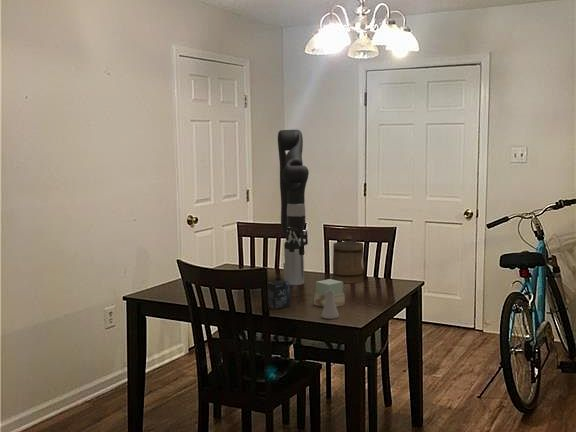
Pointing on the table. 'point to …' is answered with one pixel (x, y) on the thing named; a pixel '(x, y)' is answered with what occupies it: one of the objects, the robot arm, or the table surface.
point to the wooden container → (348, 261)
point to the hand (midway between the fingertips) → (296, 253)
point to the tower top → (329, 287)
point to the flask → (330, 307)
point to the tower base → (321, 300)
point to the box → (279, 294)
